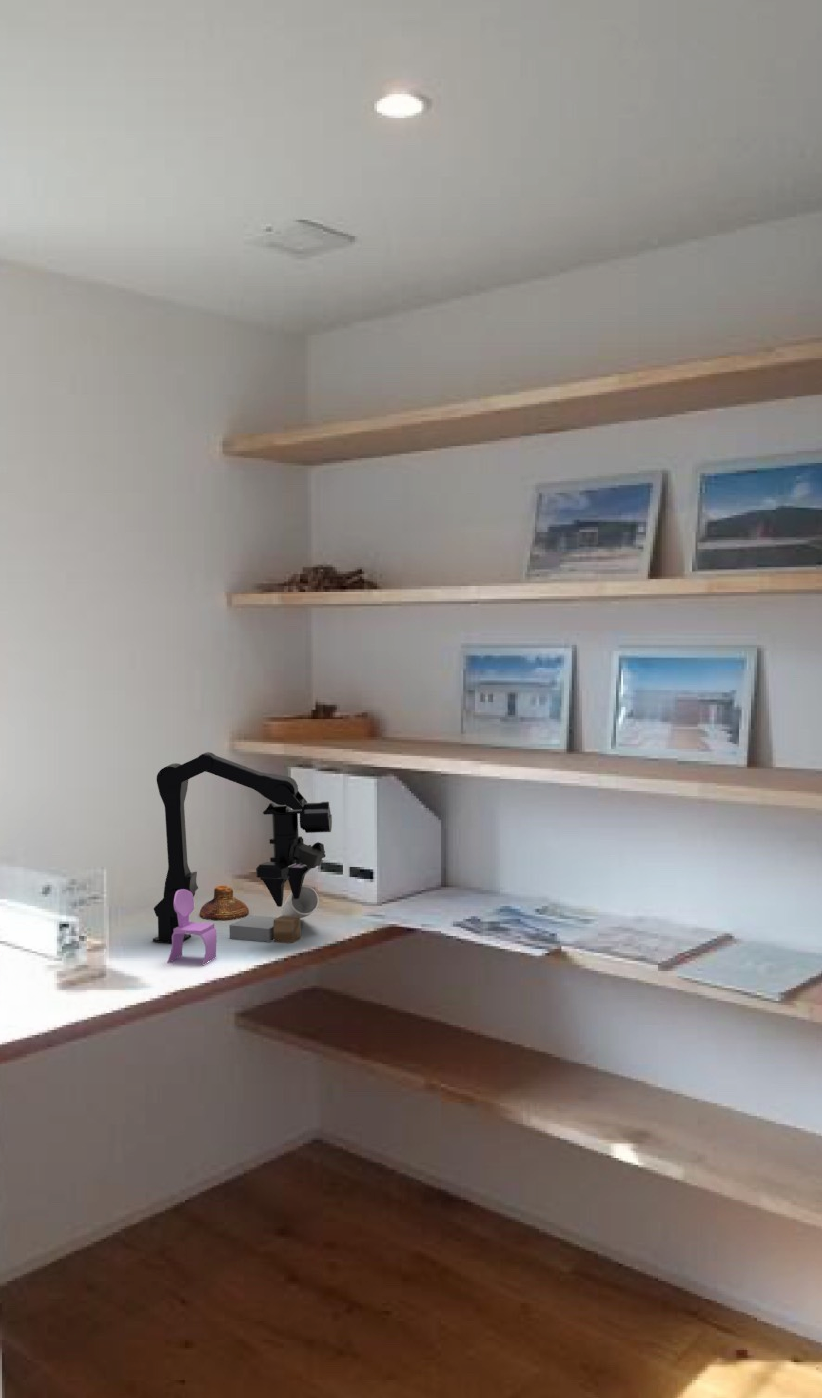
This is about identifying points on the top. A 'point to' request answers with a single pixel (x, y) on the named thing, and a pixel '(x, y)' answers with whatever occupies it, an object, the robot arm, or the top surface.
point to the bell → (224, 905)
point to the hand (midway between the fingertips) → (288, 902)
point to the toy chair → (191, 927)
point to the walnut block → (287, 929)
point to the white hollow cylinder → (301, 903)
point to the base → (253, 928)
